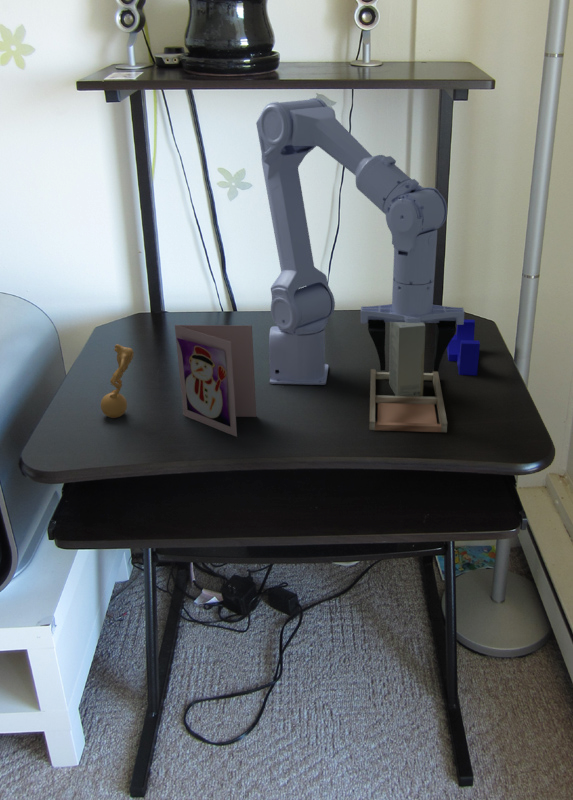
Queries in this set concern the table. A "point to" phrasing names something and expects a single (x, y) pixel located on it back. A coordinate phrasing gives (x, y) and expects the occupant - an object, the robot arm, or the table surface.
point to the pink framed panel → (407, 408)
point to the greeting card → (216, 374)
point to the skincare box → (407, 358)
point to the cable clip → (464, 349)
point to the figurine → (117, 385)
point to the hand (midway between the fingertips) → (409, 368)
